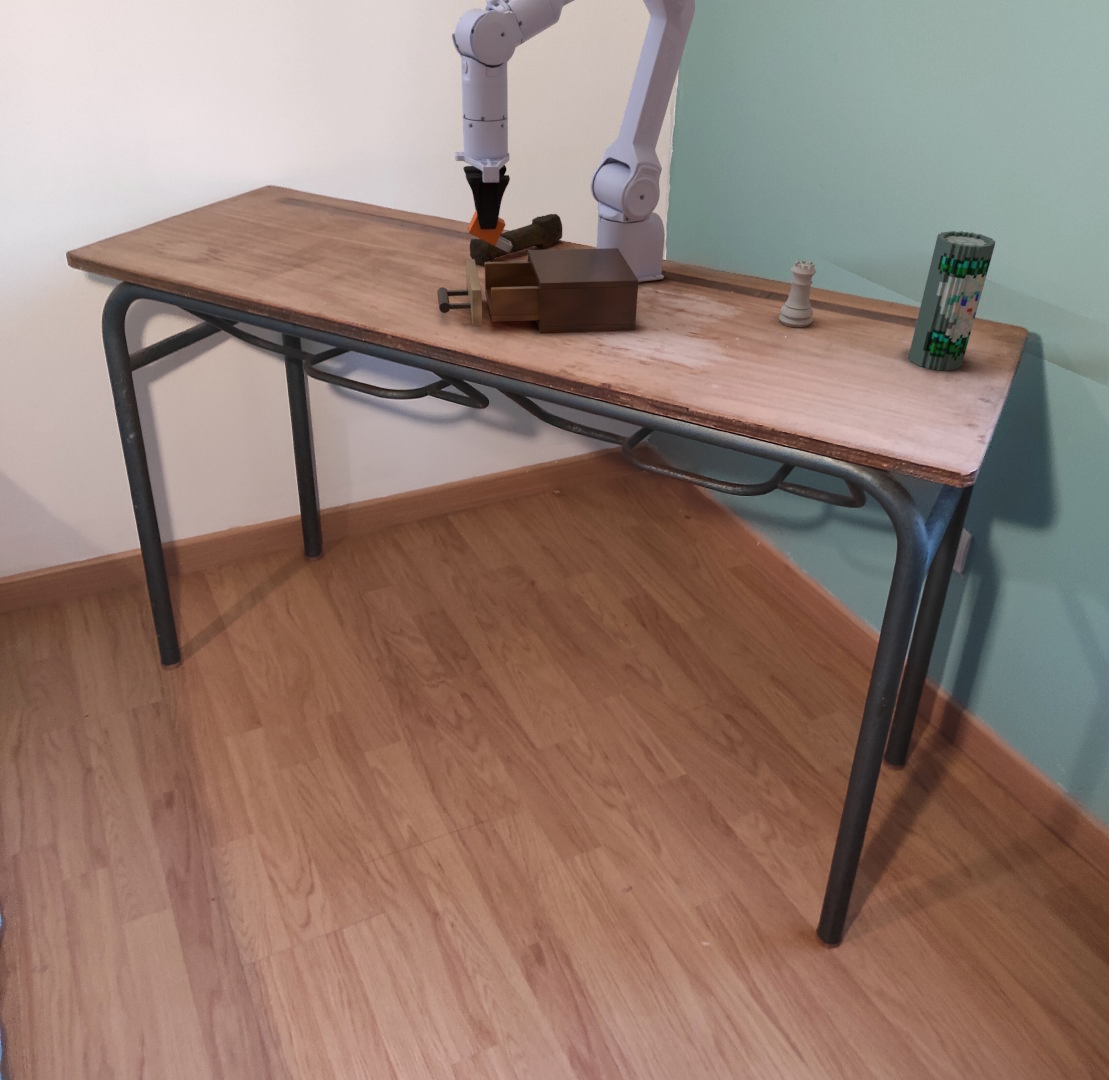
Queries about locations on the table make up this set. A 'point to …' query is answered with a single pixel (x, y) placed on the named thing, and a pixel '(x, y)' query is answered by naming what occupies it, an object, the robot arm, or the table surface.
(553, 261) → the cabinet
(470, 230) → the block
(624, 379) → the table surface
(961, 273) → the can
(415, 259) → the table surface
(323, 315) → the table surface
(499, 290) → the drawer
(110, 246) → the table surface
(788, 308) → the rook chess piece
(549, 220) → the hand tool
